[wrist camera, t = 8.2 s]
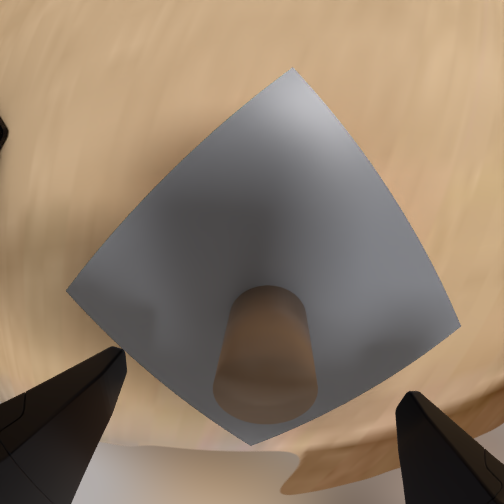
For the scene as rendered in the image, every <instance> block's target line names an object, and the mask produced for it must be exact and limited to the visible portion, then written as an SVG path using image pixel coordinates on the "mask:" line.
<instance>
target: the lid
mask: <svg viewBox="0 0 504 504" xmlns="http://www.w3.org/2000/svg"><path fill="white" fill-rule="evenodd" d="M66 292H67V293H68V294H69V295H70V296H71V297H72V298H73V299H74V300H75V301H76V303H77V304H78V305H79V306H80V307H81V308H82V309H83V310H84V311H85V312H86V313H87V314H88V315H89V316H90V317H91V318H92V319H93V320H94V321H95V322H96V323H97V324H98V325H99V326H100V327H101V328H102V329H103V330H104V331H105V332H106V333H107V334H108V335H109V336H110V337H111V338H112V339H113V340H114V341H115V342H116V343H117V344H118V345H119V346H120V347H121V348H122V349H124V350H125V351H126V352H127V353H128V354H129V355H130V356H131V357H132V358H133V359H135V360H136V361H137V362H138V363H139V364H140V365H141V366H143V367H144V368H145V369H146V370H147V371H148V372H150V373H151V374H152V375H153V376H154V377H156V378H157V379H158V380H159V381H160V382H162V383H163V384H164V385H165V386H167V387H168V388H169V389H170V390H172V391H173V392H174V393H175V394H177V395H178V396H179V397H181V398H182V399H183V400H184V401H186V402H187V403H188V404H190V405H191V406H192V407H194V408H195V409H197V410H198V411H199V412H201V413H202V414H203V415H205V416H206V417H208V418H209V419H211V420H212V421H213V422H215V423H216V424H218V425H219V426H221V427H222V428H224V429H225V430H227V431H228V432H230V433H231V434H233V435H234V436H236V437H237V438H239V439H241V440H242V441H244V442H245V443H247V444H249V445H250V446H252V445H254V444H257V443H260V442H262V441H265V440H267V439H270V438H272V437H275V436H277V435H280V434H282V433H284V432H287V431H289V430H291V429H294V428H296V427H298V426H300V425H302V424H305V423H307V422H309V421H311V420H313V419H315V418H317V417H319V416H321V415H323V414H325V413H327V412H329V411H331V410H333V409H335V408H337V407H339V406H341V405H343V404H345V403H346V402H348V401H350V400H352V399H354V398H356V397H357V396H359V395H361V394H363V393H364V392H366V391H368V390H370V389H371V388H373V387H375V386H376V385H378V384H380V383H381V382H383V381H385V380H386V379H388V378H389V377H391V376H393V375H394V374H396V373H397V372H399V371H400V370H402V369H403V368H405V367H406V366H408V365H409V364H411V363H412V362H414V361H415V360H417V359H418V358H420V357H421V356H422V355H424V354H425V353H427V352H428V351H429V350H431V349H432V348H433V347H435V346H436V345H438V344H439V343H440V342H441V341H443V340H444V339H445V338H447V337H448V336H449V335H451V334H452V333H453V332H454V331H456V330H457V329H458V328H459V327H461V325H460V323H459V320H458V318H457V316H456V313H455V311H454V309H453V307H452V304H451V302H450V300H449V298H448V296H447V293H446V291H445V289H444V287H443V285H442V283H441V281H440V279H439V277H438V275H437V273H436V271H435V269H434V267H433V265H432V263H431V261H430V259H429V257H428V255H427V254H426V252H425V250H424V248H423V246H422V244H421V243H420V241H419V239H418V237H417V235H416V234H415V232H414V230H413V228H412V227H411V225H410V223H409V222H408V220H407V218H406V217H405V215H404V213H403V212H402V210H401V208H400V207H399V205H398V204H397V202H396V200H395V199H394V197H393V196H392V194H391V192H390V191H389V189H388V188H387V186H386V185H385V183H384V182H383V180H382V179H381V177H380V176H379V174H378V173H377V171H376V170H375V169H374V167H373V166H372V164H371V163H370V161H369V160H368V159H367V157H366V156H365V154H364V153H363V152H362V150H361V149H360V148H359V146H358V145H357V143H356V142H355V141H354V139H353V138H352V137H351V136H350V134H349V133H348V132H347V130H346V129H345V128H344V126H343V125H342V124H341V123H340V121H339V120H338V119H337V118H336V116H335V115H334V114H333V113H332V111H331V110H330V109H329V108H328V107H327V105H326V104H325V103H324V102H323V101H322V100H321V98H320V97H319V96H318V95H317V94H316V93H315V91H314V90H313V89H312V88H311V87H310V86H309V85H308V83H307V82H306V81H305V80H304V79H303V78H302V77H301V76H300V75H299V74H298V72H297V71H296V70H295V69H294V68H291V69H290V70H289V71H287V72H286V73H285V74H283V75H282V76H280V77H279V78H278V79H277V80H275V81H274V82H273V83H271V84H270V85H269V86H267V87H266V88H265V89H264V90H262V91H261V92H260V93H259V94H257V95H256V96H255V97H254V98H252V99H251V100H250V101H249V102H247V103H246V104H245V105H244V106H243V107H241V108H240V109H239V110H238V111H237V112H235V113H234V114H233V115H232V116H231V117H229V118H228V119H227V120H226V121H225V122H224V123H222V124H221V125H220V126H219V127H218V128H217V129H216V130H214V131H213V132H212V133H211V134H210V135H209V136H208V137H207V138H206V139H204V140H203V141H202V142H201V143H200V144H199V145H198V146H197V147H196V148H195V149H194V150H193V151H191V152H190V153H189V154H188V155H187V156H186V157H185V158H184V159H183V160H182V161H181V162H180V163H179V164H178V165H177V166H176V167H175V168H174V169H173V170H172V171H171V172H170V173H169V174H168V175H167V176H166V177H165V178H164V179H163V180H162V181H161V182H160V183H159V184H158V185H157V186H156V187H155V188H154V189H153V190H152V191H151V192H150V193H149V194H148V195H147V196H146V197H145V198H144V199H143V200H142V201H141V202H140V203H139V204H138V206H137V207H136V208H135V209H134V210H133V211H132V212H131V213H130V214H129V215H128V216H127V217H126V219H125V220H124V221H123V222H122V223H121V224H120V225H119V226H118V228H117V229H116V230H115V231H114V232H113V233H112V234H111V236H110V237H109V238H108V239H107V240H106V241H105V243H104V244H103V245H102V246H101V247H100V248H99V250H98V251H97V252H96V253H95V254H94V256H93V257H92V258H91V259H90V261H89V262H88V263H87V264H86V265H85V267H84V268H83V269H82V270H81V272H80V273H79V274H78V276H77V277H76V278H75V279H74V281H73V282H72V283H71V285H70V286H69V287H68V289H67V290H66Z"/></svg>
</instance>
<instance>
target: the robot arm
mask: <svg viewBox="0 0 504 504" xmlns="http://www.w3.org/2000/svg"><path fill="white" fill-rule="evenodd" d="M6 136H7V129H6V127H5V126H4V124H3V122H2V121H1V119H0V148H1V146H2V144H3V142H4V140H5V138H6ZM126 373H127V365H126V356H125V351H124V350H123V349H120V348H117V347H114V346H112V347H109V348H107V349H105V350H104V351H102V352H100V353H98V354H96V355H94V356H92V357H90V358H89V359H87V360H85V361H83V362H81V363H79V364H77V365H75V366H74V367H72V368H70V369H68V370H66V371H64V372H62V373H60V374H58V375H57V376H55V377H53V378H51V379H49V380H47V381H45V382H43V383H41V384H39V385H37V386H35V387H34V388H32V389H30V390H28V391H26V393H25V392H24V393H22V394H20V395H18V396H16V397H14V398H12V399H10V400H8V401H6V402H3V403H1V404H0V504H71V503H72V500H73V498H74V496H75V493H76V491H77V489H78V487H79V484H80V482H81V480H82V477H83V475H84V473H85V471H86V469H87V467H88V464H89V462H90V460H91V458H92V455H93V454H94V451H95V449H96V447H97V445H98V443H99V441H100V439H101V437H102V435H103V432H104V430H105V428H106V426H107V424H108V422H109V420H110V418H111V416H112V413H113V411H114V408H115V405H116V402H117V399H118V396H119V393H120V391H121V388H122V385H123V382H124V379H125V377H126ZM395 415H396V427H397V441H398V453H399V459H400V466H401V472H402V478H403V486H404V494H405V502H406V504H504V464H503V463H501V462H500V461H499V460H497V459H496V458H495V457H494V456H493V455H491V454H490V453H489V452H488V451H487V450H486V449H484V448H483V447H482V446H481V445H480V444H479V443H478V442H477V441H475V440H474V439H473V438H472V437H471V436H470V435H469V434H467V433H466V432H465V431H464V430H463V429H462V428H461V427H459V426H458V425H457V424H456V423H455V422H454V421H452V420H451V419H450V418H449V417H448V416H447V415H446V414H444V413H443V412H442V411H441V410H440V409H439V408H438V407H436V406H435V405H434V404H433V403H432V402H431V401H429V400H428V399H427V398H426V397H425V396H424V395H423V394H421V393H420V392H418V391H409V392H407V393H406V394H405V396H404V397H403V399H402V400H401V402H400V403H399V405H398V406H397V408H396V413H395Z"/></svg>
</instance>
